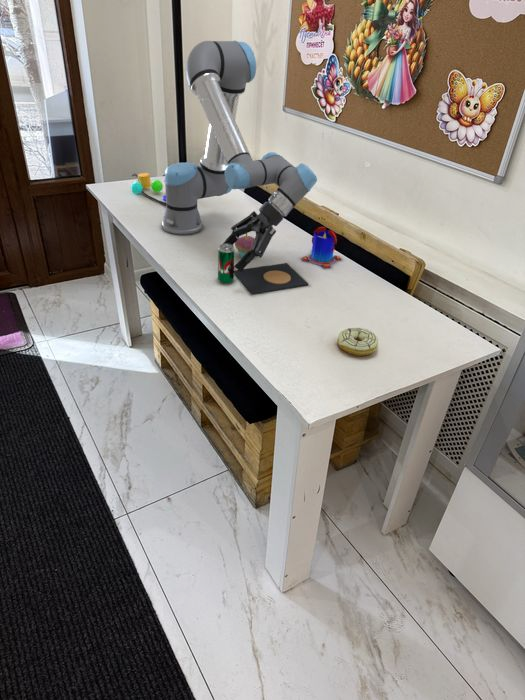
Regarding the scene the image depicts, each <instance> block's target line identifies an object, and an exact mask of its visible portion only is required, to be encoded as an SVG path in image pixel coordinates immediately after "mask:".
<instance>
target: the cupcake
mask: <svg viewBox="0 0 525 700" xmlns="http://www.w3.org/2000/svg"><path fill="white" fill-rule="evenodd" d="M254 239H255V237H253V236H251V235H248V233H246V234H245V235H242V236H239V239H238V240H237V241H236V242H235V243H234V248H236V250H237V251H238V253H239V257H240V259H241V258H242V257H243V256H244V255H245V254H246V253H247V252H248V251H249V250H250V249H252V246H253V243H254Z"/></svg>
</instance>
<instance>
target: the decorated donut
mask: <svg viewBox="0 0 525 700" xmlns="http://www.w3.org/2000/svg"><path fill="white" fill-rule="evenodd" d="M337 345H338V348H340V349H341V350H342V351H344V352H345V353H348V354H350V355H353V356H359V357H363V356H368V355H371V354H373V353H374V352H375V351H376V350H377V349H378V345H379V337H378V335H376V334H375V333H374V332H372V331H371V330H369V329H367V328H362V327H350V328H346V329H342V330H341V331H340V332H339V333H338V335H337Z"/></svg>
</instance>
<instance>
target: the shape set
mask: <svg viewBox="0 0 525 700" xmlns="http://www.w3.org/2000/svg"><path fill="white" fill-rule="evenodd" d="M137 175H138V178H137V180H138V181H134V182H133V183H132V184H131V185H130V190H131V191H132V193H134V194H135V195H138V194H142V193H141V192H142V191H143V189H148V188H151V190H152V192H154V193H160V192H162V191H163V189H164V185H163V182H162V181H161V180H157V179H154V180H153V181H152V182H151V176H150V173H148V172H141V173H138V174H137ZM161 199H162V200H161V201H162V202H165V203H166V194H165V195H163V196H162V198H161Z"/></svg>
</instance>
